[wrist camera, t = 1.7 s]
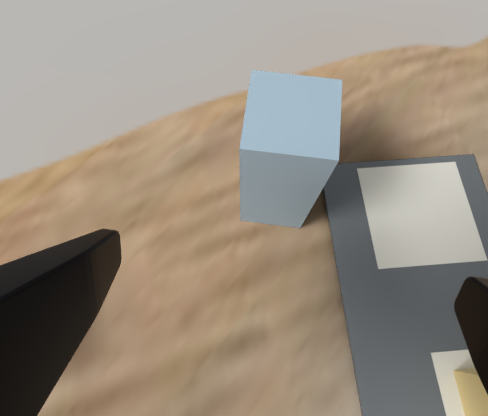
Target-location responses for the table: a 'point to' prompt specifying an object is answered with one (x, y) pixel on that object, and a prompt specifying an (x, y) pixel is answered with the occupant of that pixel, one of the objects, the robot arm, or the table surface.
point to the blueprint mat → (407, 275)
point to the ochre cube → (471, 392)
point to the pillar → (287, 145)
